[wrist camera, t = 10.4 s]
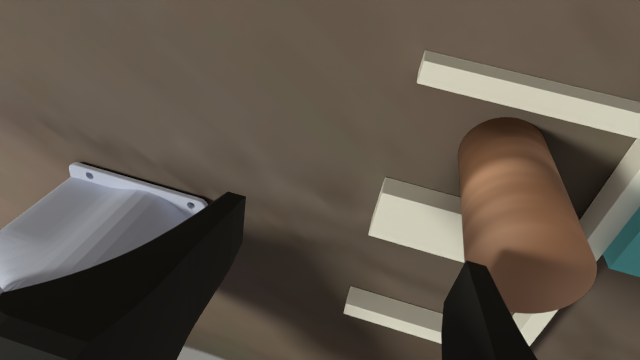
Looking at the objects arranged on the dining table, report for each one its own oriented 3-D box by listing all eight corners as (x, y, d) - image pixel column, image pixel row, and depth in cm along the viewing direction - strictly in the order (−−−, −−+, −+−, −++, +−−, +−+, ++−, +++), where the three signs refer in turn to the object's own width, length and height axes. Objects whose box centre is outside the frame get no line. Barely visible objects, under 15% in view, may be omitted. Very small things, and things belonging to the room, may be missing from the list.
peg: (446, 177, 22) (448, 293, 16) (475, 108, 20) (492, 211, 13) (524, 197, 22) (559, 326, 15) (562, 129, 19) (623, 247, 13)
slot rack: (347, 295, 29) (340, 326, 27) (425, 49, 19) (423, 68, 17) (532, 351, 28) (539, 388, 25) (718, 121, 18) (754, 150, 16)
